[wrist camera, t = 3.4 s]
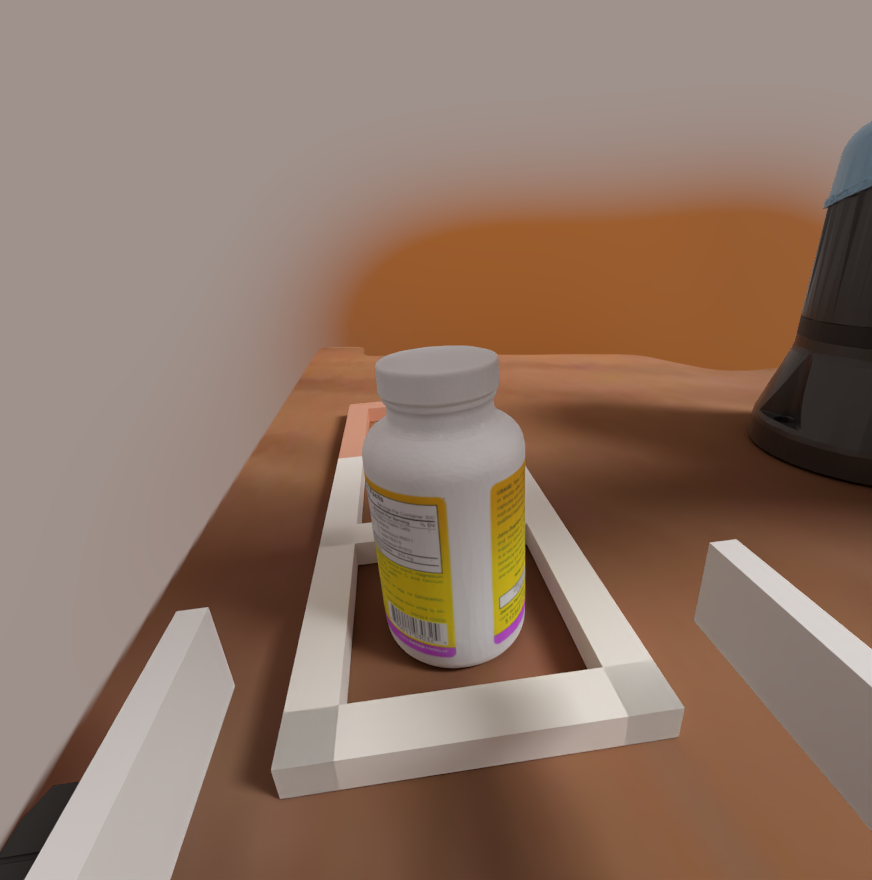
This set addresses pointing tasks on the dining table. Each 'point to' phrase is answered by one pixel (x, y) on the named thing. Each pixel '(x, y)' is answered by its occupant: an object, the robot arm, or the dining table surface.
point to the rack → (467, 708)
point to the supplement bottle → (447, 505)
